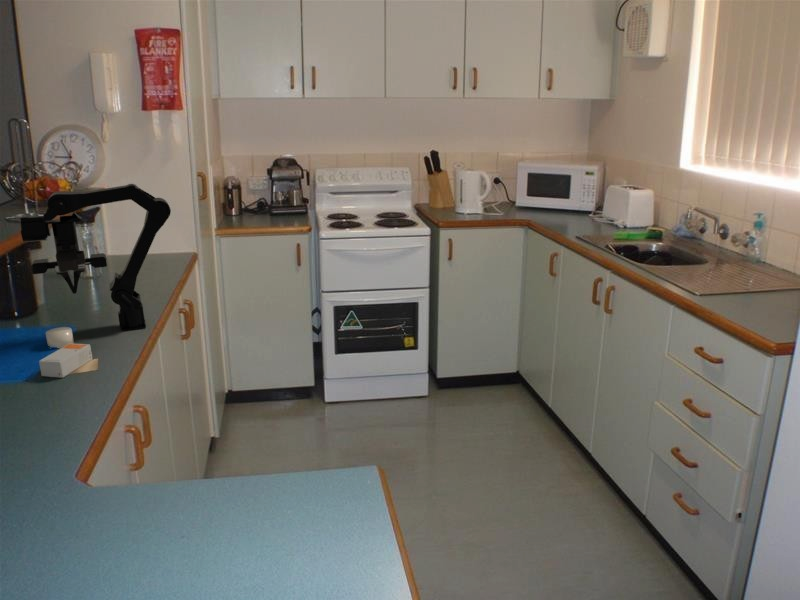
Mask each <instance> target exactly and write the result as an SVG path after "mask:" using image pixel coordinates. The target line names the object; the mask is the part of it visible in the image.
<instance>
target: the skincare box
mask: <svg viewBox="0 0 800 600" xmlns="http://www.w3.org/2000/svg"><path fill="white" fill-rule="evenodd" d="M92 359H93V353H92V348H91V345H90V344H89V343H88V344H87V343H86V344H85V343H74V344H73V343H70V344H68V345H66V346H64V347H63V348H61V349H56V351H54V352H52V353H50V354H48V355H47V356H45V357H44V358H42V359H40V360H39V361H38V363H39V369H40V375H41V377H48V378H61V379H62V378H64V377H67V376H69V375H68V374H70V373H71V372H73V371H74V370H76V369H77V368H79V367H81V366H82V365H84V364H85V363H87V362H89V361H90V360H92Z"/></svg>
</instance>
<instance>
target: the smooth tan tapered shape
mask: <svg viewBox="0 0 800 600" xmlns="http://www.w3.org/2000/svg"><path fill="white" fill-rule="evenodd" d="M96 370H97V371H99V358H94V359H93V358H92V360H90V361H89V362H87V363H85V364H84V365H82V366H81V367H79V368H77V369H76V370H74V371H73V372H71V373H70V374H68V375H67V376H71V375H77V374H83V373H84V374H85V373H90V372H96Z"/></svg>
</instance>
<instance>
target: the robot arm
mask: <svg viewBox="0 0 800 600" xmlns="http://www.w3.org/2000/svg"><path fill="white" fill-rule="evenodd" d="M129 200H130V201H133V202H134V203H136V205H138V206H139V207H140V208H142V209H144V210H145V212H146V213H145V217H144V221H143V227H142V229H141V231H140V234H139V236H138V237H137V240H136V242H135V243H134V244H135V245H134V246H133V249H132V251H131V254H130V256H129V257H128V260H127V263H126V264H125V267H124V269H123V270H122V271H121V272H120V273H117V272H114V275H113V279H112V281H111V282H110V283H109V291H110V298H111V300H112V302H113V303H114V304H115V305H118V306H119V311H117V315H118V322H119V324H118V325H119V328H121V331H123V332H124V331H125V332H126V331H133V330H139V329H146V328H147V323H146V319H145V314H144V313H145V312H144V305H143V302H142V299H141V297H142V296H141V293H139V292H137V291H136V290H135V287H136V283H137V279H138V275H139V273H140V271H141V269H142V267H143V264H144V261H145V259H146V257H147V255H148V253H149V251H150V249H151V247H152V244H153V242H154V240H155V237H156V235H157V234H158V232H159V231H160V230H161V228H162V227H163V226H164V225H165V223H166V222H167V221H168V219H169V218H170V216H171V212H172V211H171V207H170V205H169V203H168V202H167V200H166V199H165V198H162V197H155V196H153V195H152V194H150V193H148V192H147V191H145V190H143V189H142V188H140V187H139V186H138V185H137V184H134V183H128V184H125V185H120V186H114V187H108V188H100V189H95V190H87V191H74V190H67V191H66V190H58V191H55V192H53V193H51V194H50V196H49V197H48V200H47V209H46V210H44V212H43V215H33V216H27V215H26V216H25V215H23V216H22V215H21V217H20V219H19V220H20V235H21V239H22V241H23V243H33V242H42V241H48V238H49V237H51V236H52V235H53V239H54V248H55V250H56V251H55V253H56V254H55V261H49V258H39V259H34V260H33V261H32V263H31V265H30V269H31V274H32V275H40V274H46V272H47V271H48V270H50V269H55V275H57V276H58V275H60V276H61V277H62V278H63V279H64V280H65V282H66V284H67V285H68V287H69V288H70V291H71V292H72V294H77V292H78V287H79V280H80V277H81V275H82V273H86V266H88V265H89V266H91V267H93V268H94V269H99V268H106V267H108V261H107V255H106V254H105V253H102V252H101V253H94V254H93V253H92V254H90V257H86V255H85V251H84V250H80V246H79V240H78V234H77V227H76V223H77V222H82V216H80V215H79V214H77V211H79V210H81V209H84V208H87V207H92V206H93V207H94V206H98V205H104V204H111V203H117V202H122V201H129ZM68 214H69V215H68ZM58 216H59V218H58V219H55V218H57V217H58ZM50 225H51V226H50ZM51 229H52V232H51ZM70 271H73V277H72V275H71V272H70ZM72 278H73V279H72Z"/></svg>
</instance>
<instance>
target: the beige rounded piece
mask: <svg viewBox="0 0 800 600" xmlns="http://www.w3.org/2000/svg"><path fill="white" fill-rule="evenodd" d="M45 337H46V342H47V347H48V346H50V347H57V348H59V349H61V348H63V347H64V346H66V345H68V344H70V343H73V344H75V341H74V335H73V330H72V328H71V327H68V326H61V327H60V326H59V327H55V328H51V329H49V330H47V331H45ZM59 349H58V350H59Z"/></svg>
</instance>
